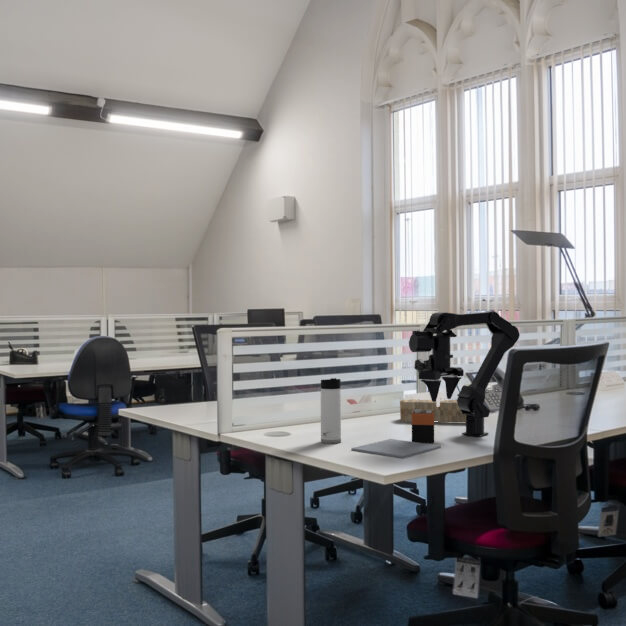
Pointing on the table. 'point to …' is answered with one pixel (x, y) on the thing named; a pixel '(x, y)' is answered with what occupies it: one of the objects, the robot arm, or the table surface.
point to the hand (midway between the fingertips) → (441, 400)
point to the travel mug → (331, 411)
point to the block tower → (432, 410)
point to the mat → (396, 448)
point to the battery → (423, 426)
